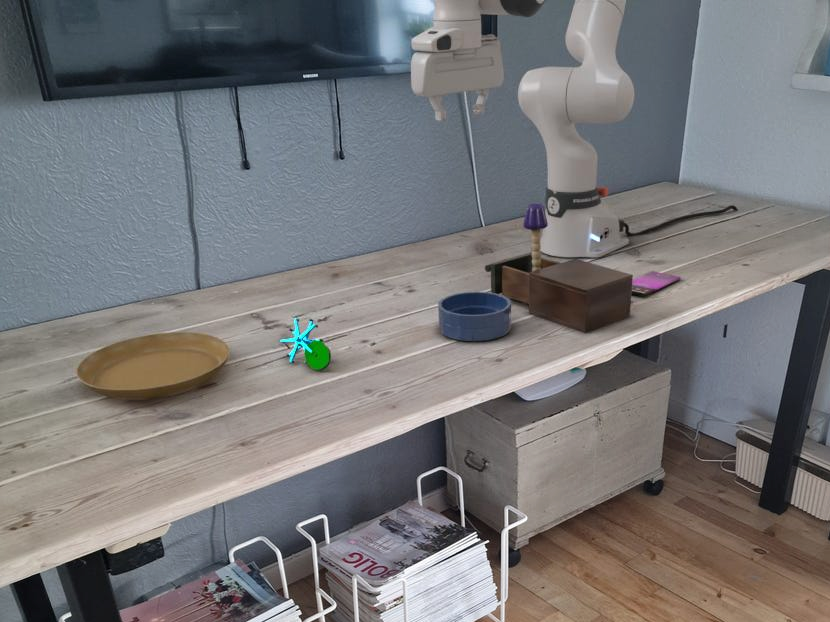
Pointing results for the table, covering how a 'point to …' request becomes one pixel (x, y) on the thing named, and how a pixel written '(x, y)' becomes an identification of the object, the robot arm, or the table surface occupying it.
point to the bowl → (474, 316)
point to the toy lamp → (535, 230)
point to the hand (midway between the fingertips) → (460, 117)
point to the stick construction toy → (309, 347)
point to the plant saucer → (153, 365)
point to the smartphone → (652, 282)
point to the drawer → (514, 276)
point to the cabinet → (580, 294)
